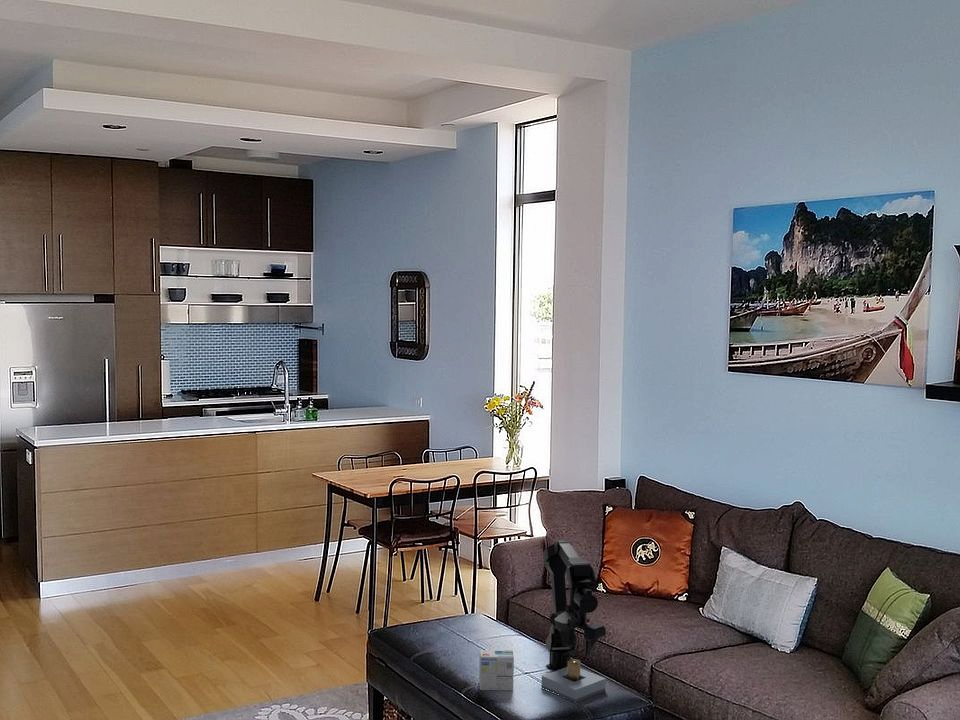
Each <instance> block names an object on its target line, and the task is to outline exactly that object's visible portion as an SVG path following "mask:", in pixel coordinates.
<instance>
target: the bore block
mask: <svg viewBox="0 0 960 720" xmlns="http://www.w3.org/2000/svg"><path fill="white" fill-rule="evenodd" d="M567 668H568V667H565V668H562V669H560V670H557V671H555V670H554V671H551V672H549V673H546V674H543V675H541V687H542V688H544V689H547V690H549V691H551V692H554V693H556V694H559V695H561V696H562V697H561V696H560V697H561V698H563V697H565V698H567V699H566V700H568V699H569V700H568V701H570V700H571V701H570V702H572V701H573V702H572V703H575V702H576V703H579V702H581V701H583V699H584V700H586V699H588V698H591V697H594V696H596V695H599V694H601V693H604V692H606V684H607V682H606V681H607V680H606V679H607V678H606V677H603V676H601V675H598V674H595V673H592V672H590V671H588V670H585V669H584V668H580V680H579V681H576V682H573V681H571V680H568V679H567ZM542 688H541V689H542ZM544 689H543V690H544ZM547 690H546V691H547ZM549 691H548V692H549ZM551 692H550V693H551ZM554 693H553V694H554ZM556 694H555V695H556ZM565 698H564V699H565Z"/></svg>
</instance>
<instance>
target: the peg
mask: <svg viewBox="0 0 960 720" xmlns="http://www.w3.org/2000/svg"><path fill="white" fill-rule="evenodd" d="M580 669H581V660H580V659H577V658H571V659H570V660H568V668H567V679H568V680H571V681H573V682H576V681H579V680H580Z"/></svg>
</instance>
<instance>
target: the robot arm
mask: <svg viewBox="0 0 960 720" xmlns="http://www.w3.org/2000/svg"><path fill="white" fill-rule="evenodd" d="M542 558H543V562H544V565H545V569H546V570H547V572H548V573H549V574H550V580H551V581H550V582H551V595H552V612H553V613H551V615H550V616H549V624H551V625H550V628H549V633H548V636H547V637H546V640H545V648H546V649H547V651H548V652H549V661H548V664H546V665H545V667H546V668H548V669H550V670H554V671H557V670H560V669H562V668H565V667H568V660H570V659H572V658H571V657H572V655H571V651H572V652H575V650H576V645H577V639H578V637H577V635H576V633H575V628H578V629H580V630H582V631H583V634H584V636H583V639H584V640H585V656H586V657H589V656H590V654H591V653H592V651H593V648H595V645H596V643H597V642H598V641H599V639H600V638H603V636H606V635H607V633H606V632H607V628H606V627H605V625H602V624H599V623H596V622H595V623H591V624H588V623H589V622H590V618H589V617H588V614H590V613H593V612H594V611H596V609H597V608H598V605H599V601H598V598H597V597H596V596H595V595H594V594H593V590H592V588H596V584H597V579H596V575H595V571H594V569H593V566H592V565H591V563H590V562H589V561H588V560H587V559H585V558H584V559H583V558H581V557H580V556H579V554H578V553H577V552H576V550H575V549H574V547H573V544H572V541H571V540H557V541H555V542H554V543H553V544H551V545H548V546H547V547H545V549H544V550H543V554H542ZM566 577H567V581H568V582H567V583H568V584H569V596H568V597H569V601H567V600H568V599H567V587H566V586H567V585H566Z"/></svg>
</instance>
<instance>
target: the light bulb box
mask: <svg viewBox="0 0 960 720" xmlns="http://www.w3.org/2000/svg"><path fill="white" fill-rule="evenodd" d="M513 651H514V650H513V649H480V650H479V665H478V668H479V671H478V672H479V675H478V680H479V681H478V682H479V683H478V684H479V691H514V669H515V668H514V666H515V665H514V664H515V658H514V657H515V656H514V652H513Z"/></svg>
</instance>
